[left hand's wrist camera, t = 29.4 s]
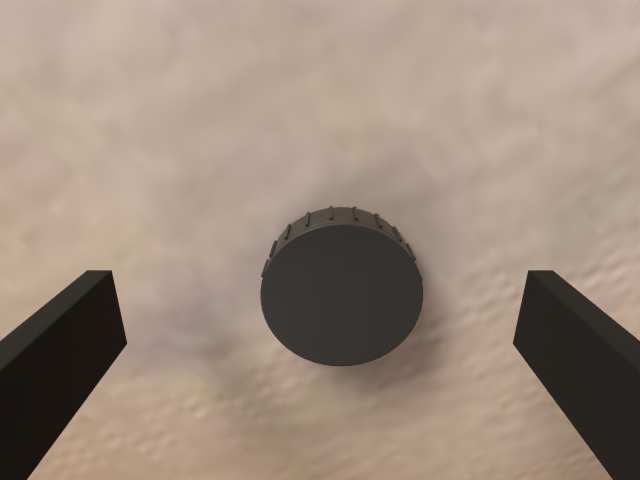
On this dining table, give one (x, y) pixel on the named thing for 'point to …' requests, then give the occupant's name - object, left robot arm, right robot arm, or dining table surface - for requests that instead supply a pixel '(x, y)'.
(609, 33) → the dining table surface
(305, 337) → the lid
